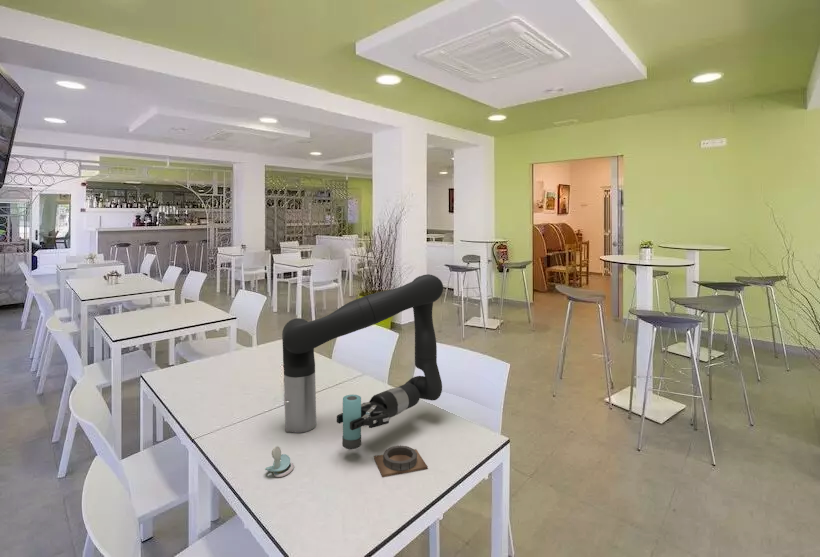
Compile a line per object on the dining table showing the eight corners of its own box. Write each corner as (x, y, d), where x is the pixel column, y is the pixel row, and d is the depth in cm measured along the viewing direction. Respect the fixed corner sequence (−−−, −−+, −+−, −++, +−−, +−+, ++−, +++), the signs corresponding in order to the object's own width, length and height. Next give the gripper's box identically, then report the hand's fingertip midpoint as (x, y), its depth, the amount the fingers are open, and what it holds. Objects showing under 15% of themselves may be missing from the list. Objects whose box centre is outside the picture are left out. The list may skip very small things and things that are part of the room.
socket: (382, 477, 108) (382, 467, 107) (373, 458, 116) (373, 449, 116) (427, 468, 112) (427, 459, 111) (416, 451, 120) (416, 442, 120)
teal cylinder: (344, 450, 113) (344, 403, 112) (340, 441, 118) (340, 395, 116) (363, 447, 115) (363, 400, 113) (359, 438, 120) (359, 393, 118)
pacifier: (299, 465, 113) (278, 461, 115) (299, 443, 112) (278, 439, 114) (283, 481, 106) (262, 476, 108) (283, 458, 105) (261, 453, 107)
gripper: (372, 384, 130) (326, 401, 118) (408, 398, 121) (362, 418, 108) (372, 408, 131) (327, 427, 119) (407, 423, 122) (362, 446, 109)
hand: (344, 422), depth 114 cm, fingers closed on teal cylinder, 4 cm apart
